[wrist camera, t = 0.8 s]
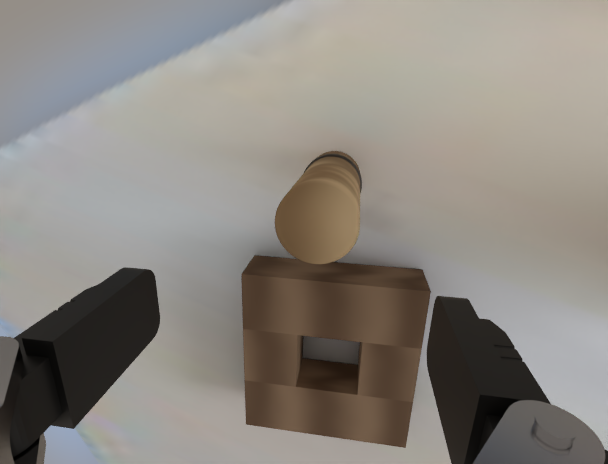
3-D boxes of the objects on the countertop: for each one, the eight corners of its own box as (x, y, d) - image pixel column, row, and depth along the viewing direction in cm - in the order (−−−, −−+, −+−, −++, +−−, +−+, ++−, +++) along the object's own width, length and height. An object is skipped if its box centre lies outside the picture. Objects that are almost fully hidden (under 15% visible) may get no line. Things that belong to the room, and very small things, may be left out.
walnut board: (422, 269, 32) (430, 291, 28) (401, 413, 37) (405, 447, 34) (254, 255, 34) (241, 274, 30) (257, 393, 39) (246, 424, 35)
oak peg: (363, 148, 29) (365, 183, 16) (359, 199, 31) (358, 269, 18) (311, 145, 30) (272, 178, 17) (309, 196, 31) (272, 262, 18)
